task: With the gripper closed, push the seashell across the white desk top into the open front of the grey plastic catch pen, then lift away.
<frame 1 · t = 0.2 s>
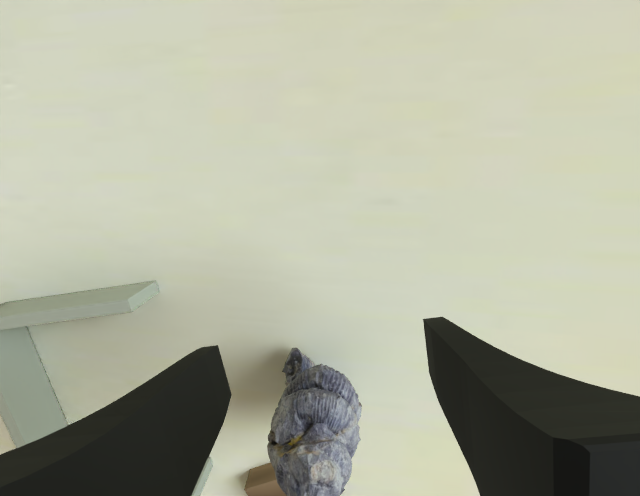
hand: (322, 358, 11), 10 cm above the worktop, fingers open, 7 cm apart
walnut tile: (294, 479, 26), on the worktop
catch pen: (114, 388, 24), on the worktop
seashell: (324, 363, 23), on the worktop
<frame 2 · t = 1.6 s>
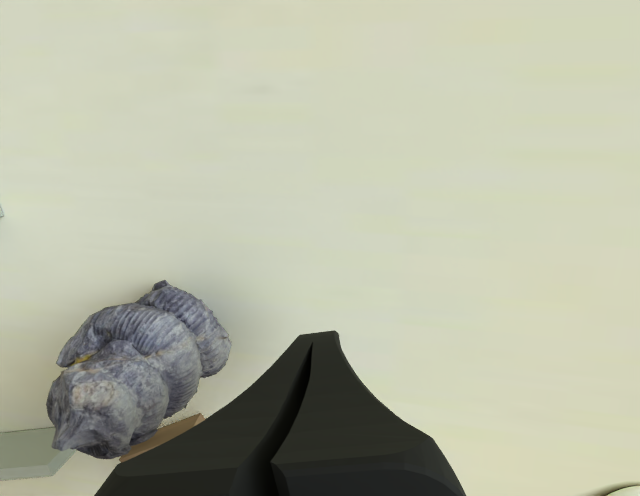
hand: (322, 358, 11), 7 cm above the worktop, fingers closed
walnut tile: (190, 450, 22), on the worktop
seashell: (208, 304, 19), on the worktop
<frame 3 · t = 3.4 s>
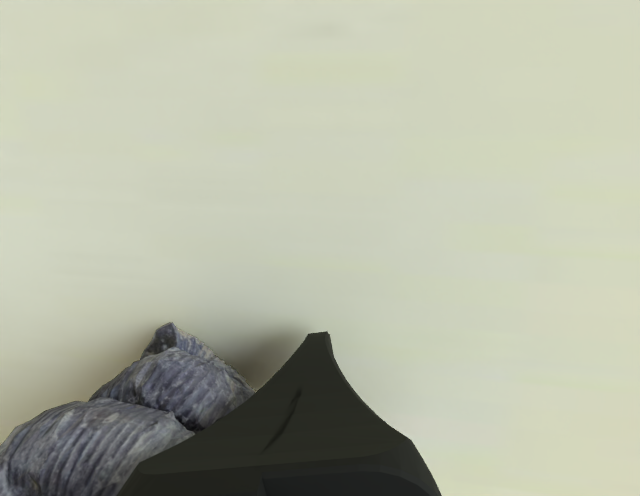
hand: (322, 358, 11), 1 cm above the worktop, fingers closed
seashell: (234, 353, 13), on the worktop, touching gripper
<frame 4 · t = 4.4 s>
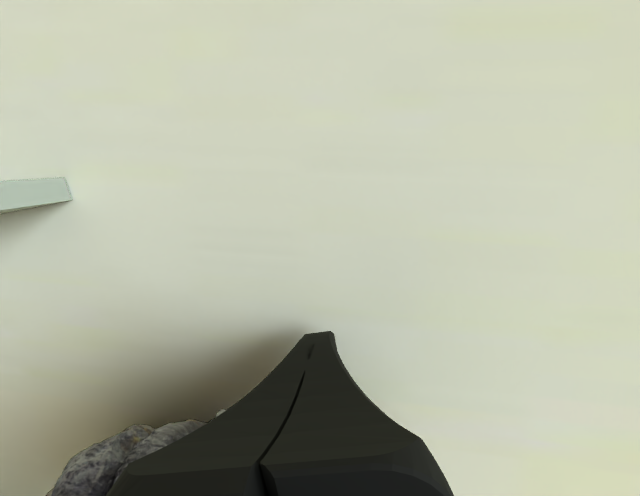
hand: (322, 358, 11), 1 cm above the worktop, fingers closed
catch pen: (9, 383, 14), on the worktop
seashell: (302, 492, 9), point 4 cm above the worktop, touching gripper
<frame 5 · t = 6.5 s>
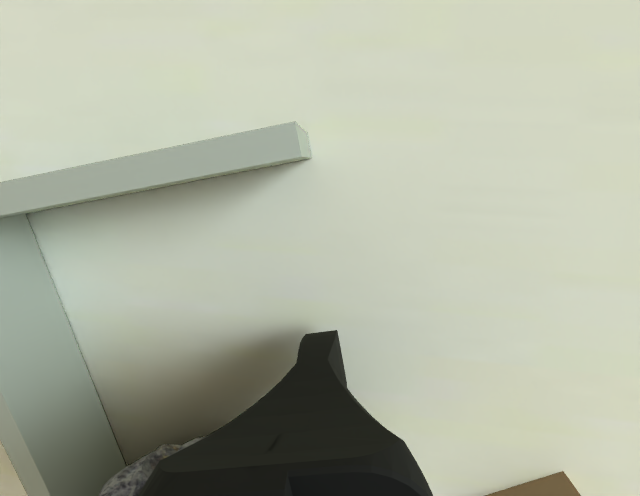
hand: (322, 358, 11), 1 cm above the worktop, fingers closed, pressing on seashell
catch pen: (203, 363, 13), on the worktop
seashell: (331, 490, 9), point 4 cm above the worktop, touching catch pen, gripper
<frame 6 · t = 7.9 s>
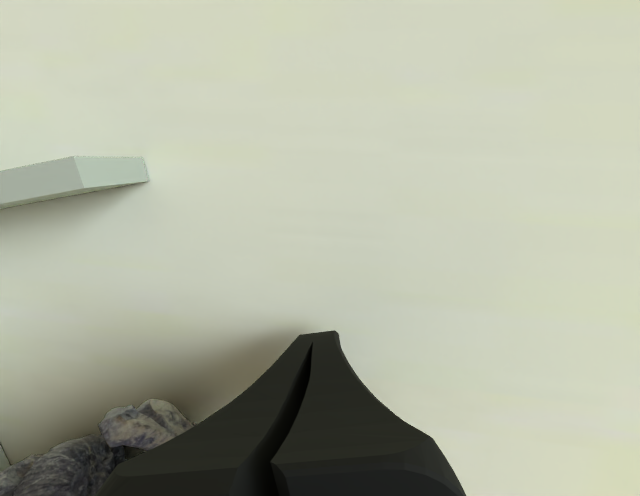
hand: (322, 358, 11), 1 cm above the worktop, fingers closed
catch pen: (71, 370, 14), on the worktop
seashell: (191, 455, 11), point 2 cm above the worktop, touching catch pen
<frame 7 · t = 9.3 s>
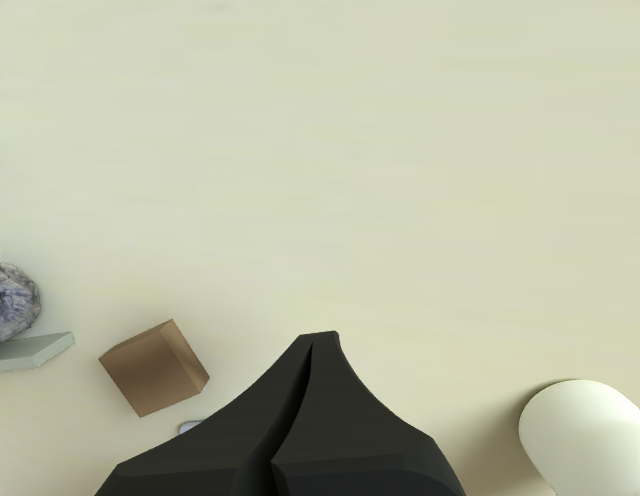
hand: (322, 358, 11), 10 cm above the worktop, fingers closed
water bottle: (566, 417, 23), on the worktop
walnut tile: (165, 358, 24), on the worktop
seashell: (14, 284, 20), point 2 cm above the worktop, touching catch pen
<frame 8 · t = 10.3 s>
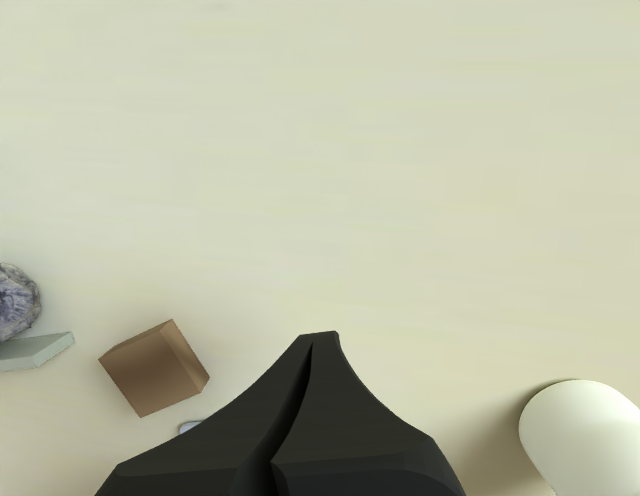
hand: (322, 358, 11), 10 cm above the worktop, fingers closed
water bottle: (566, 417, 23), on the worktop
walnut tile: (165, 358, 24), on the worktop
seashell: (14, 284, 20), point 2 cm above the worktop, touching catch pen
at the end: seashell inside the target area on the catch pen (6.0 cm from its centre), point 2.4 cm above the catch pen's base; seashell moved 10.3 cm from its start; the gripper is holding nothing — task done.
